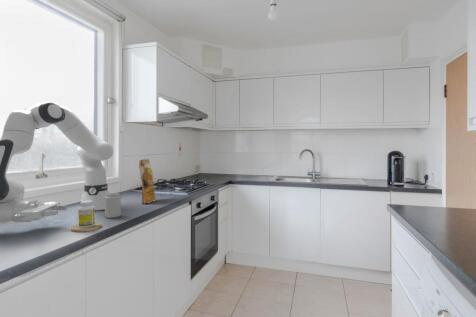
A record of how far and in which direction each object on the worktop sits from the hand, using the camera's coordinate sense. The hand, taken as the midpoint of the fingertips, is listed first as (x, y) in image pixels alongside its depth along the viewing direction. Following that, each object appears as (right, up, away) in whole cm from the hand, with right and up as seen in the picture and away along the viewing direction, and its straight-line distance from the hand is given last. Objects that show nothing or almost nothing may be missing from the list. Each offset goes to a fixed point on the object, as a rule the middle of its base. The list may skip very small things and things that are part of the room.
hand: (62, 210), depth 120 cm
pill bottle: (+10, -8, +2) cm, 12 cm away
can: (+12, -8, +22) cm, 26 cm away
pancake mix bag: (+18, -6, +60) cm, 63 cm away
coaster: (+10, -8, +2) cm, 13 cm away
